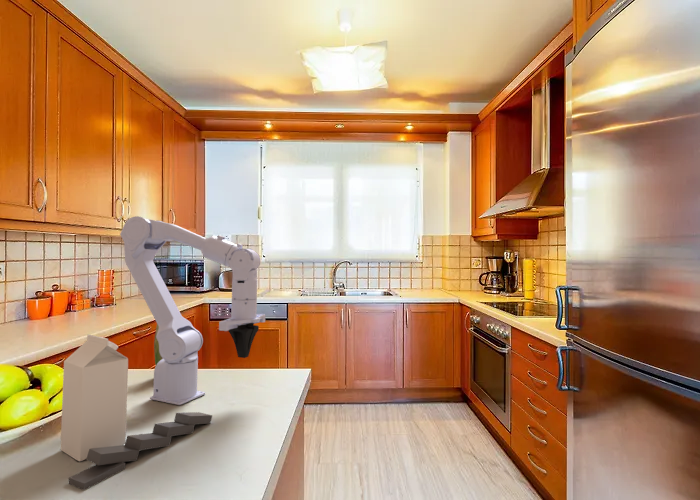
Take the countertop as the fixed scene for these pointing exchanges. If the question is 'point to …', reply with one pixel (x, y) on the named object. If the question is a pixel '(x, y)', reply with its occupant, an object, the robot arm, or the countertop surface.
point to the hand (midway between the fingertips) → (243, 356)
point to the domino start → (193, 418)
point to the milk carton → (94, 398)
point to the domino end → (95, 475)
